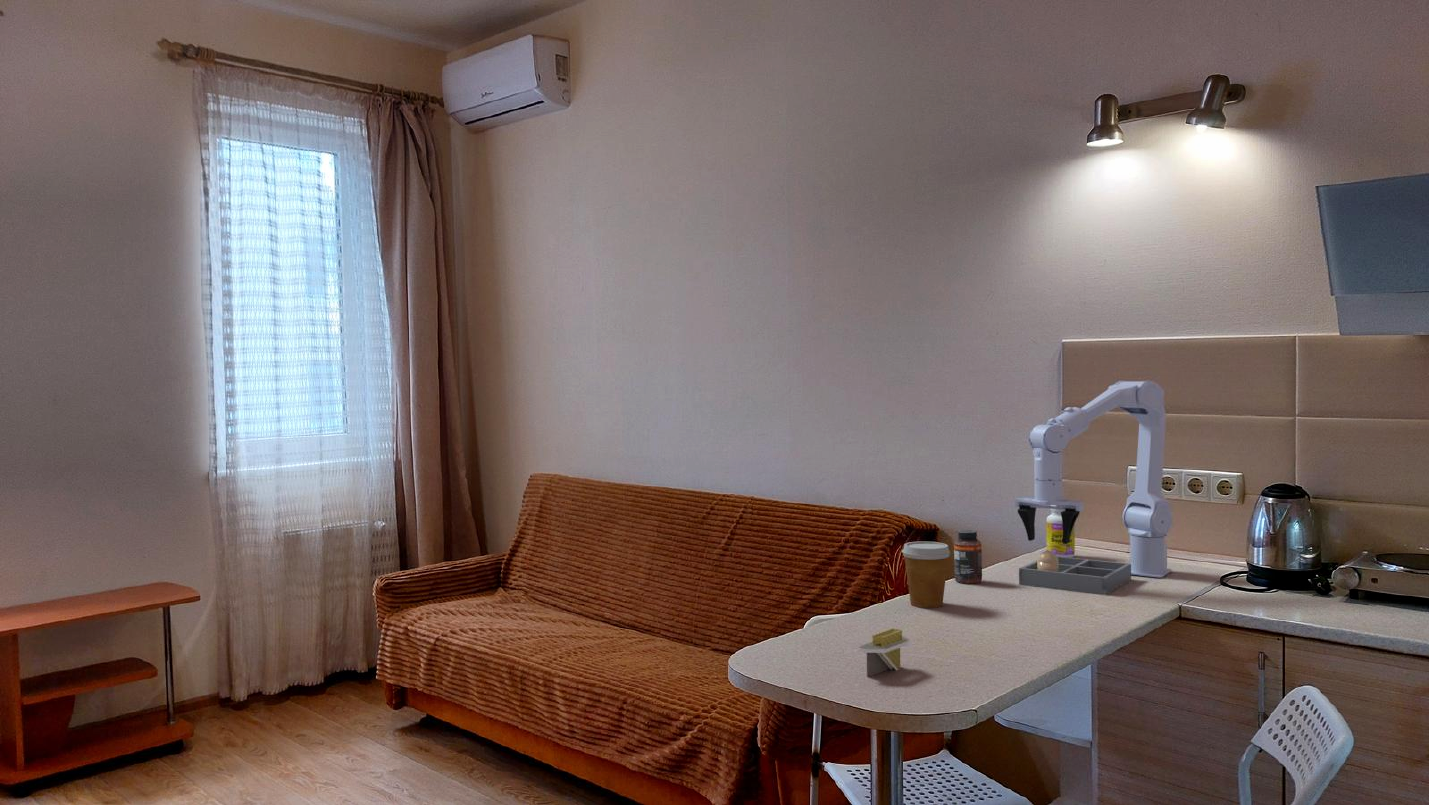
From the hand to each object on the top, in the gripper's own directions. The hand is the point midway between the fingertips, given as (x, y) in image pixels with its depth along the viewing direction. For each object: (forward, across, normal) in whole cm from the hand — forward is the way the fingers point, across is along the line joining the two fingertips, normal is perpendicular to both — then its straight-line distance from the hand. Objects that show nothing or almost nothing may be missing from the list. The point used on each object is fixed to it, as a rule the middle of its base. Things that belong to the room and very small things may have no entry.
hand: (1048, 541), depth 216 cm
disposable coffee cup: (+9, -13, -33) cm, 37 cm away
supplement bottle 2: (+9, -8, +32) cm, 34 cm away
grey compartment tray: (+9, +4, +4) cm, 11 cm away
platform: (+10, +2, -78) cm, 78 cm away
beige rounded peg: (+8, 0, 0) cm, 8 cm away
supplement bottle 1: (+9, -15, -8) cm, 20 cm away
